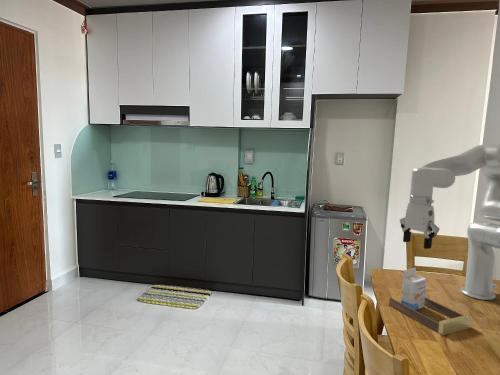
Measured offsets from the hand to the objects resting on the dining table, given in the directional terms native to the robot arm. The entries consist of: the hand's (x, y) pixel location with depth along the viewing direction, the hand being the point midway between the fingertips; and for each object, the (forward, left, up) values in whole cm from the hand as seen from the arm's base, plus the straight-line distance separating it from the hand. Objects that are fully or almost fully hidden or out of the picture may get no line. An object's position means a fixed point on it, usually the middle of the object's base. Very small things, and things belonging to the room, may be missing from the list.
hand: (416, 245), depth 132 cm
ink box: (0, 0, -25) cm, 25 cm away
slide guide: (0, +7, -25) cm, 26 cm away
